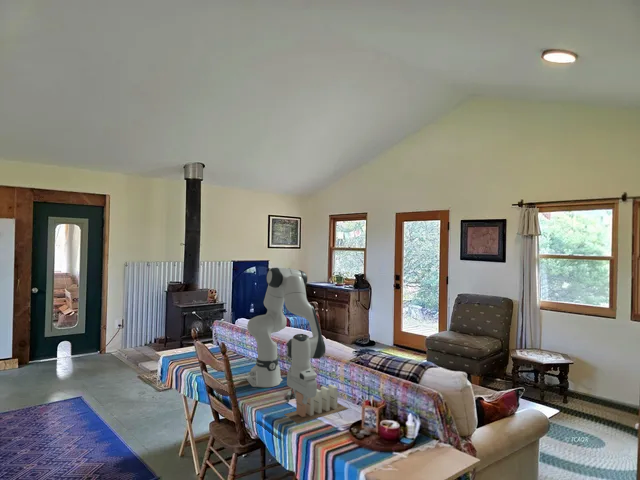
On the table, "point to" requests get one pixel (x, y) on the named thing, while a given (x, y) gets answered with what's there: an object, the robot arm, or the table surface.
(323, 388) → the domino
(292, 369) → the robot arm
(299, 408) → the domino
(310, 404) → the domino
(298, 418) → the board
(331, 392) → the domino
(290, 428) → the table surface
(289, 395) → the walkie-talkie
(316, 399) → the domino
